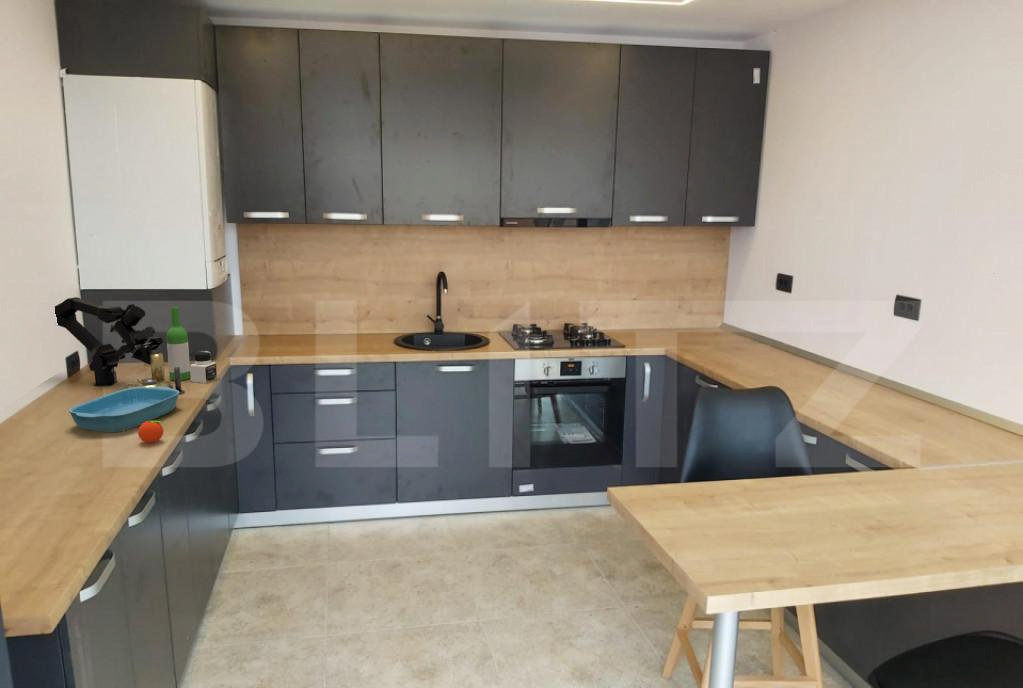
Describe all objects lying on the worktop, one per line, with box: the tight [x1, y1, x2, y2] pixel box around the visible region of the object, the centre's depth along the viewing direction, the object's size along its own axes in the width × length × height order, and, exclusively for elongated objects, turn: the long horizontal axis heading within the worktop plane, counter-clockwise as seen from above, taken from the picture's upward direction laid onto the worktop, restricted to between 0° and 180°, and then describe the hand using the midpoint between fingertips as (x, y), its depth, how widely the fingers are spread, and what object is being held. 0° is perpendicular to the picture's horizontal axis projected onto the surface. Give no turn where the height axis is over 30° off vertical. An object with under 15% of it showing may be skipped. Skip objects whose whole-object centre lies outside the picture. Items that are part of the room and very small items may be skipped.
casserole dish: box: [69, 387, 180, 433], centre depth 232 cm, size 37×22×7 cm, turn 170°
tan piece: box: [127, 352, 172, 388], centre depth 256 cm, size 14×15×12 cm
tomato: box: [137, 420, 168, 444], centre depth 211 cm, size 8×7×7 cm
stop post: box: [174, 367, 185, 395], centre depth 261 cm, size 4×4×10 cm
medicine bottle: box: [190, 350, 218, 384], centre depth 279 cm, size 7×7×12 cm
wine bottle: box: [166, 306, 191, 382], centre depth 278 cm, size 8×8×30 cm
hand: (153, 364), depth 262 cm, fingers closed, pressing on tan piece
